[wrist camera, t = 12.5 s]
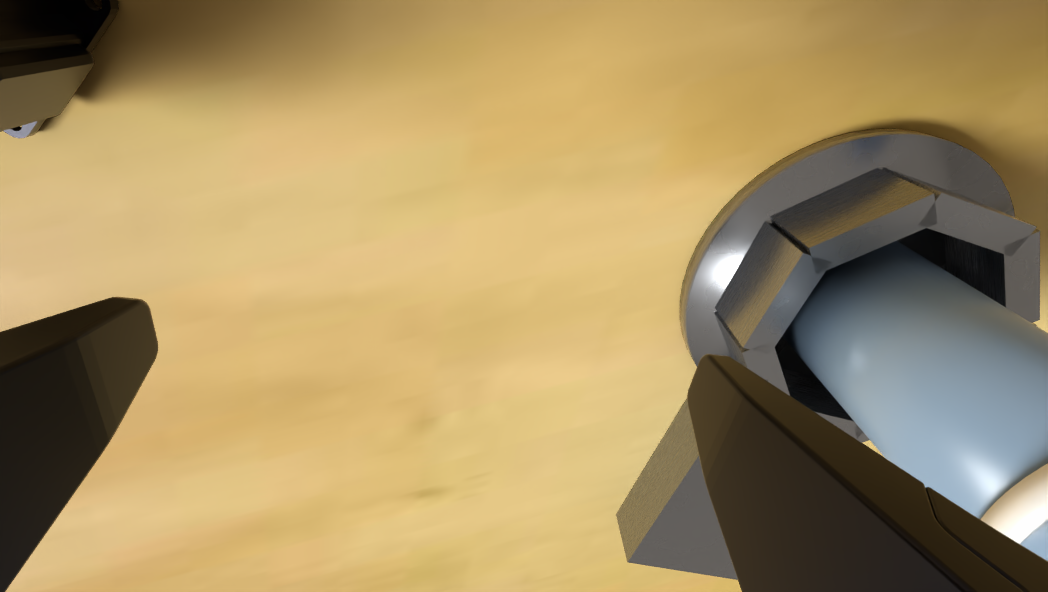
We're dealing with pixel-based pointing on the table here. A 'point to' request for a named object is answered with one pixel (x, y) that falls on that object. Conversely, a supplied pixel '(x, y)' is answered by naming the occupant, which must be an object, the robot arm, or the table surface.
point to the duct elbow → (937, 382)
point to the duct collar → (791, 275)
